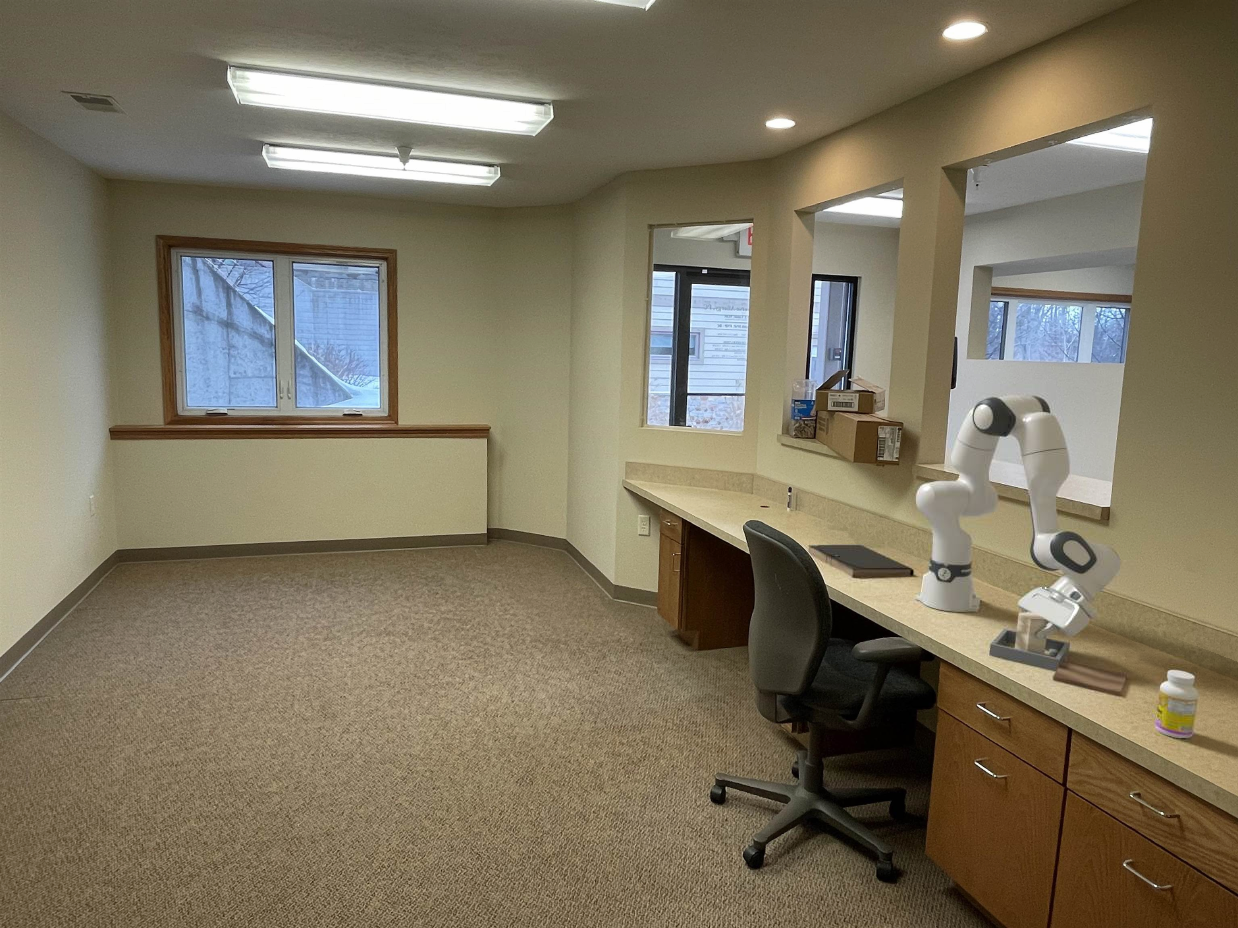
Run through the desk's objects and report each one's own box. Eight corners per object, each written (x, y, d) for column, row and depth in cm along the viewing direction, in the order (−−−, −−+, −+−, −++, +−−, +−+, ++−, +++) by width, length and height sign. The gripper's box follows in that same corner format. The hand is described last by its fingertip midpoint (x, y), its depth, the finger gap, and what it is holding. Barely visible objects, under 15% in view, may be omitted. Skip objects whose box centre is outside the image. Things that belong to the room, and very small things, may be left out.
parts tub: (1003, 639, 226) (1004, 628, 225) (1068, 653, 216) (1070, 642, 216) (989, 654, 213) (990, 643, 213) (1057, 671, 204) (1059, 659, 203)
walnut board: (1062, 663, 209) (1063, 659, 209) (1126, 678, 201) (1127, 674, 201) (1052, 679, 198) (1053, 675, 198) (1120, 696, 190) (1120, 692, 190)
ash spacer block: (1014, 648, 217) (1018, 612, 215) (1032, 648, 218) (1036, 612, 216) (1026, 656, 212) (1030, 618, 210) (1044, 655, 213) (1048, 618, 211)
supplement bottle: (1156, 722, 177) (1164, 665, 175) (1193, 732, 173) (1202, 673, 171) (1152, 732, 172) (1160, 673, 170) (1190, 743, 168) (1199, 683, 166)
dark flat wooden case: (807, 544, 313) (864, 544, 319) (807, 554, 314) (863, 554, 320) (852, 567, 282) (914, 566, 288) (851, 579, 282) (913, 578, 288)
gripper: (1035, 576, 223) (998, 611, 223) (1088, 599, 203) (1047, 638, 203) (1048, 592, 225) (1012, 626, 225) (1102, 617, 205) (1062, 655, 205)
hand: (1029, 632), depth 214 cm, fingers closed on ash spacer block, 5 cm apart
